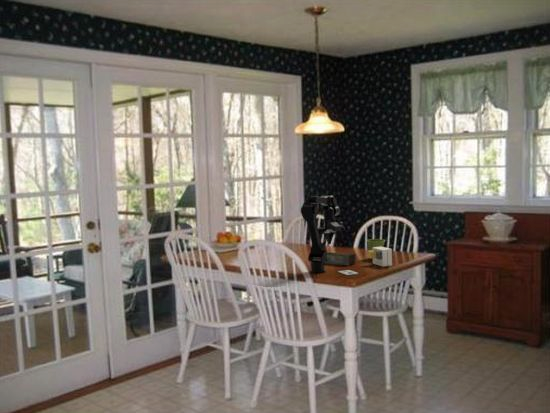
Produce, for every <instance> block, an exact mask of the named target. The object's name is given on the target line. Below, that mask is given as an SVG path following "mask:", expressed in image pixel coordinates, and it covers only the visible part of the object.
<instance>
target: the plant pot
mask: <svg viewBox="0 0 550 413" xmlns="http://www.w3.org/2000/svg"><path fill="white" fill-rule="evenodd" d="M365 241H366V244H367V247H368V251H371V250H372V247H385V246H384V245H385V242H386V239H381V238H372V239H371V238H370V239H366V240H365ZM371 260H373V258H371Z"/></svg>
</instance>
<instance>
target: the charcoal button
mask: <svg viewBox="0 0 550 413" xmlns="http://www.w3.org/2000/svg"><path fill="white" fill-rule="evenodd" d="M376 259H379V260H380V259H382V252H380V251H379V252H376Z"/></svg>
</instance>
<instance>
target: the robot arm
mask: <svg viewBox="0 0 550 413" xmlns="http://www.w3.org/2000/svg"><path fill="white" fill-rule="evenodd" d="M312 204H313V205H312ZM314 204H315V205H314ZM319 204H320V205H321V206H323V207H322V209H321V210H322V211H323V218H322V222H323V225H322V227H318V223H317V217H318V212H319V209H320V207H319ZM300 213H301V217H302V219H303V220H304V221H306V224H307V228H308V234H309V238H310V241H311V247H310V249H309V250H310V252H309V253H308V257H307V260H308V262H310V269H311V270H309V272H310V273H314V274H321V273H326V270H325V263H323V262H324V261H326V254H327V248H326V244H325V242H321V237H320V234H323V236H324V237H325V240H326V241H327V244H328V245H331V244H332V241H333V238H334V235H336V234H337V233H338V232H339V231H341V232H343V231H346V230H345V226H344V224H343V221H338V222H337V221H336V218H334V217H336V216H338V215H340V213H341V208H340V207H339V205H338V202H337V199H336V197H335V196H334V195H321V196H317V195H310V196H309V197H308V199H307V200H306V201H305V202H303V204H302V205H301V207H300Z"/></svg>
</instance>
